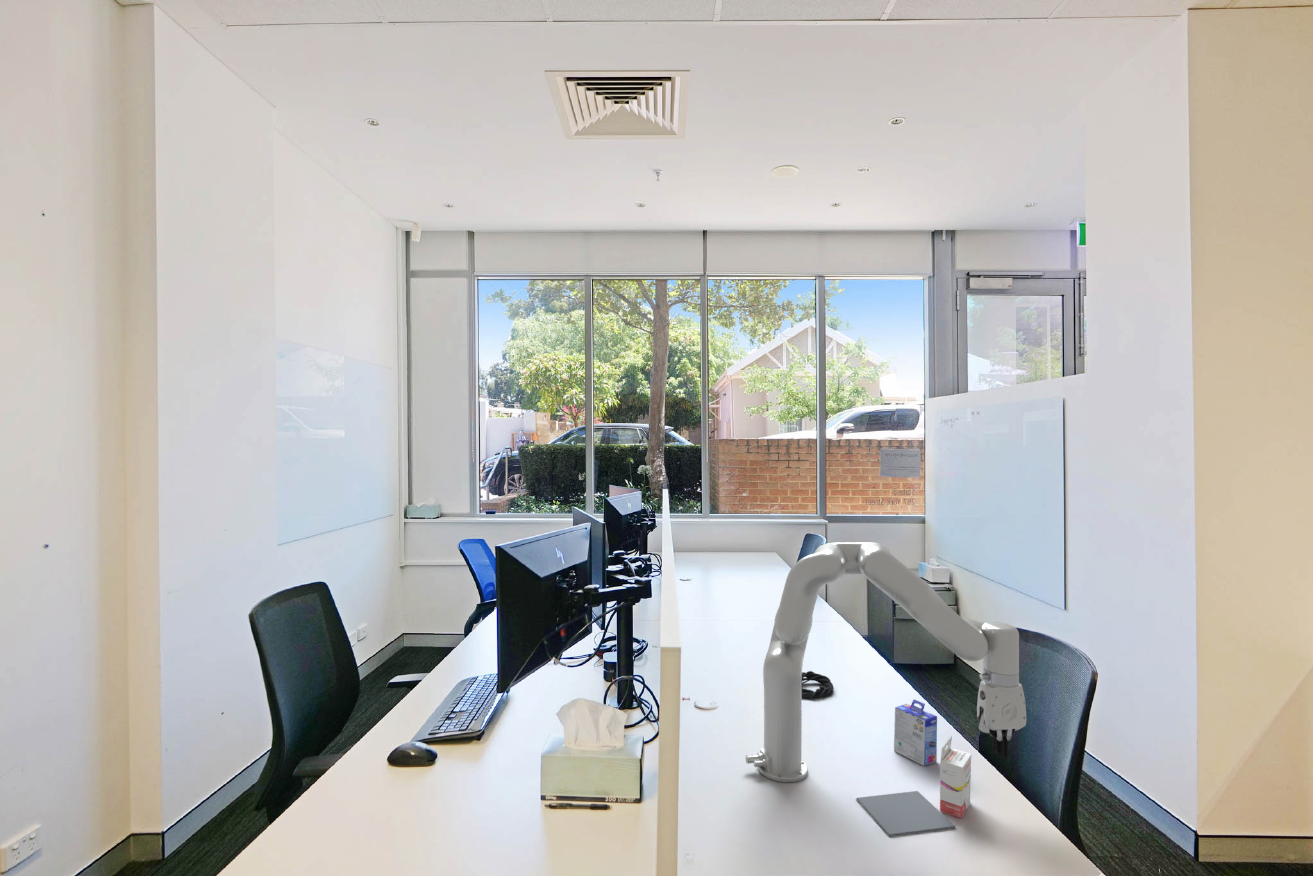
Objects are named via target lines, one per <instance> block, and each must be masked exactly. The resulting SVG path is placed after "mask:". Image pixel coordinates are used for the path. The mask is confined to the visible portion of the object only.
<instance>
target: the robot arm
mask: <svg viewBox="0 0 1313 876" xmlns="http://www.w3.org/2000/svg"><path fill="white" fill-rule="evenodd" d="M845 575H863V576H864V577H865V578H866V579H867V580H868V581H869V582H871V583H872V584H873V586H876V587H877V589H879V590H881V592H883V593H884V595H887V597H889V598H890V599H891V600H893V602H895V603H896V604H897V605H898V606H900V607H901V608H902V609H903V610H904V611H905V612H907V614H908V615H909V616H910V617H911V618H913V619H914V620H915V621H916V622H917V623H919V625H921V626H922V627H923V628H924V629H925V630H927V631H928V632H929V633H930V634H931V635H932V636H933V637H934V638H935V639H937V640H938V641H939V642H940V643H942V644H943V645H944V647H946V648H947V649H948V650H950V651H951V652H952V653H954V654H955V655H956V656H957V657H959V658H960V659H963V660H964V661H967V662H978V661H980V660H981V661H982V673H979V679H980V680H981V681H980V684H979V688H978V694H977V700H976V701H977V703H976V704H977V705H976V718H977V722H979V724H978V729H979V731H980V732H981V733H985V734H989V736H990V737H992V743H991V747H992V749H991V750H992V753H993V754H994V755H996V756H998V757H999V758H1001V759H1004V758H1007V759H1008V758H1009V741H1011V739H1012V736H1013V734H1014V732H1017V731H1019V730H1021V729H1022V728H1024V727H1025V726H1026V724H1027V707H1026V705H1027V704H1026V697H1025V693H1024V688H1023V685H1022V684H1021V683H1020V633H1019V630H1018V628H1016V627H1015V626H1014V625H1012V624H1008V623H1003V622H996V621H995V622H985V621H980V620H976V619H971V618H966V617H961V616H960V615H959V614H958V613H957V612H956V611H954V610H953V609H952V608H951V607H950V606H949V605H948V604H947V603H946V602H945V601H944V600H943V599H942V597H940V596H939V594H938V593H937V592H936V590H934V588H933V587H932V586H931V585H930V584H929V583H928V582H926V581H925V580H924V579H923V578H922V577H920V576H919V575H918V574H917V573H915V572H914V571H913V570H911V569H910V568H909V567H907V566H906V565H905V564H904V563H903V562H901V561H900V560H899V559H898V558H896V557H895V556H894V555H893V554H892V553H891V552H890V549H888V548H887V546H885V545H883V544H882V543H879V542H874V541H873V542H871V541H869V542H866V541H865V542H827V543H824V544H821V545H819V546H818V547H817V548H816V549H815V550H814V552H813V553H811V554H808V555H806V556H804V557H802V558H800V559H799V560H798V561H796V562H795V563H794V564H793V566H792V567H791V568H790V570H789V572H788V574H787V576H786V579H785V583H784V587H783V591H782V593H781V594H782V595H781V596H780V597H781V598H780V602H779V606H778V609H777V611H776V614H775V617H774V625H773V629H772V632H771V637H770V642H769V646H768V649H767V652H766V655H765V658H764V662H763V667H762V675H763V676H762V678H763V680H762V681H763V748H760V750H759V751H760V752H757V754H747V755H745V763H746V764H747V765H749V764H753V767H754V768H757V769H758V772H760V774H761V775H763V776H764V777H766V778H768V779H770V780H772V781H775V782H779V783H780V782H781V783H794V782H798V781H801V780H803V779H804V778H806V777H807V776H808V770H809V769H808V766H807V764H806V762H805V761H804V760H802V739H803V738H802V737H803V736H802V735H803V734H802V733H803V731H802V730H803V729H802V727H803V726H802V723H803V721H802V720H803V719H802V718H803V717H802V716H803V714H802V712H803V711H802V708H803V707H802V701H803V697H802V690H801V688H802V684H801V681H802V672H803V665H804V658H805V654H806V649H807V648H806V647H807V644H808V640H809V635H810V633H811V631H812V627H813V615H814V610H815V605H816V602H817V599H818V595H819V592H820V590H821V589H822V588H823V587H824V586H826V585H828V584H831V583H835V582H838V581H839V580H841V579H842V578H843V577H844V576H845ZM802 682H803V681H802Z"/></svg>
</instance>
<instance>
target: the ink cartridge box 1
mask: <svg viewBox="0 0 1313 876" xmlns="http://www.w3.org/2000/svg"><path fill="white" fill-rule="evenodd" d="M916 704H917V705H919V706H920V707H918V706H916ZM925 706H926V703H924V702H922V701H919V700H916V699H913V700H912V703H911V704H908V703H905V704H902V705H898V706H896V707H894V734H893V736H894V737H893V741H894V742H893V752H895V753H898V754H899V755H901V756H903V757H905V758H908V759H910V760H912V761H913V762H915V763H918V764H920V765H921V766H923V767H924V766H928V765H930V764H931V765H932V764H934V763H935V764H936V763H937V757H938V756H937V753H938V752H937V751H938V750H937V749H938V748H937V747H938V745H937V744H938V743H937V741H938V740H937V738H938V716H937V715H935V714H932V713H930V712H928V711H925V710H924V709H925Z"/></svg>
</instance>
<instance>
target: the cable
mask: <svg viewBox="0 0 1313 876" xmlns="http://www.w3.org/2000/svg"><path fill="white" fill-rule="evenodd" d="M809 681H813V682H817V683H819V684H821V685H820V686H819V687H818V688H816V690H815V691H814V690H812V689H807V688H805V687H804V688H803V687H801V690H802V699H805V700H809V699H818V698H820V697H828V696H830V695H832V694H833V693H834V685H833V683H832V681H831V679H830V678H829V677H828V676H826V675H824V674H823V675H822V674H820V673H816V672H814V671H812V670H809V671H807V672H803V671H802V681H801V685H803V684H806V683H808V682H809Z"/></svg>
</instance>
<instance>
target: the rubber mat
mask: <svg viewBox="0 0 1313 876" xmlns="http://www.w3.org/2000/svg"><path fill="white" fill-rule="evenodd" d="M855 799H856V802H857V803H858V804H859V805H860V806H861V807H862V808H863V809H864V810H865V811H866V813H867V814H868V815H869V816H870V817H871V818H872V819H873V820H874V821H875V823H876V824H877V825H878V826H879V827H880V828H881V829H882V831H883V832H885V833H886V835H887V836H888V837H897V836H906V835H914V834H919V833H920V834H921V833H928V832H937V831H942V830H943V831H944V830H951V829H956V824H954V823H953V822H952V821H951V820H950V819H948V817H946V816H945V815H944V814H943V812H941V811H940V809H938V808H937V807H935V806H934V805H933V803H931V802H930V801H929V800H928V799H927V798H926V797H925V796H923V795H922V794H921V793H920V792H919V791H918V790H916V791H915V790H914V791H907V792H905V791H904V792H896V793H889V794H888V793H887V794H878V795H872V796H871V795H869V796H862V797H856V798H855Z"/></svg>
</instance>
